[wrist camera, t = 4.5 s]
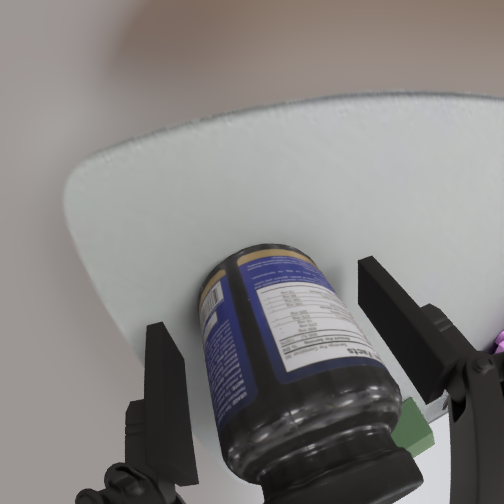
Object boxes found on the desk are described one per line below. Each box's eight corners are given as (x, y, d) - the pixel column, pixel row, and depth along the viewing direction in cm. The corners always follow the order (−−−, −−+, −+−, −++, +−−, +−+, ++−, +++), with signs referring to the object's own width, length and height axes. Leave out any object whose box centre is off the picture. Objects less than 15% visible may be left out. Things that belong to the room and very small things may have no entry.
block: (361, 449, 32) (375, 479, 28) (342, 437, 28) (359, 474, 24) (418, 415, 31) (434, 444, 27) (411, 396, 27) (432, 431, 23)
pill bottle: (245, 354, 17) (301, 541, 8) (169, 292, 14) (191, 551, 5) (337, 294, 16) (448, 472, 7) (280, 211, 13) (444, 460, 4)
